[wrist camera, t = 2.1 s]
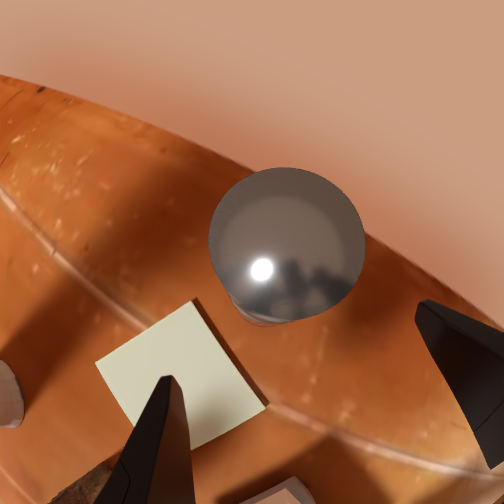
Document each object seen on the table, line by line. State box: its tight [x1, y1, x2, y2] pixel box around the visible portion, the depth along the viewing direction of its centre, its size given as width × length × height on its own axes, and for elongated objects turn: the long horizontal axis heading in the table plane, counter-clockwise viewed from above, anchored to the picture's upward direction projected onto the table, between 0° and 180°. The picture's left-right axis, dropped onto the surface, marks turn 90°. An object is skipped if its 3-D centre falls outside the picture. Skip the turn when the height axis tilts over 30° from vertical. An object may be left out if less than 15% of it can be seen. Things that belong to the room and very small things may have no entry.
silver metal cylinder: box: [208, 168, 366, 327], centre depth 14 cm, size 4×4×12 cm
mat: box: [95, 301, 266, 450], centre depth 18 cm, size 9×9×1 cm
